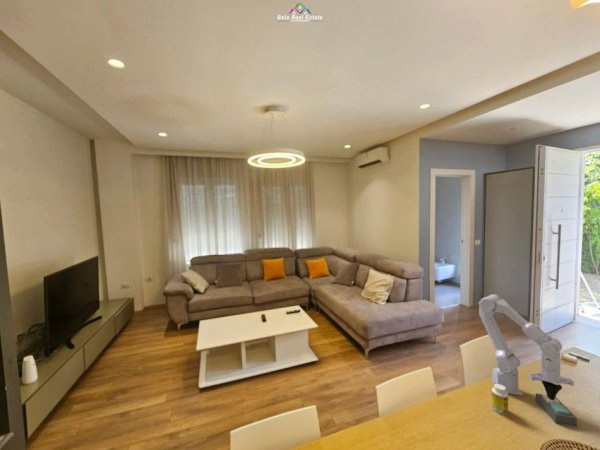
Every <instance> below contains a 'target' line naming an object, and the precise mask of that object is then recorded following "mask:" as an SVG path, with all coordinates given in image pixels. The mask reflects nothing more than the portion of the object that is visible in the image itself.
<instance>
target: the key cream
mask: <svg viewBox="0 0 600 450" xmlns="http://www.w3.org/2000/svg"><path fill="white" fill-rule="evenodd" d="M541 394H542V393H541ZM542 398H543V399H544V400H545V401H546V402H547V403H549V404H550V403H553V404H560V402H561V401H560V400H559V399H558V398H557V397H556V398H557V399H558V400H559V401H560V402H559V401H558V400H557V399H556V398H555V399H554V400H550V399H549V398H548V397H547V394H546V393H545V394H544V393H543V394H542Z"/></svg>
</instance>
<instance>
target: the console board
mask: <svg viewBox="0 0 600 450" xmlns="http://www.w3.org/2000/svg"><path fill="white" fill-rule="evenodd" d="M535 401H536V402H537V404H538V405H539V406H540V407H541V408H542V410H543V411H544V412H545V413H546V414H547V415H548V416H549V417H550V419H551V420H552V421H553V423H555V424H559V425H565V426H571V427H578V423H577V424H573V423H567V422H560V421H555V420H554V419H553V417H552V416H551V415H550V414H549V413H548V412H547V411H546V410H545V408H544V407H543V406H542V405H541V404H540V403H539V402H538V400H537V399H536V398H535Z"/></svg>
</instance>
